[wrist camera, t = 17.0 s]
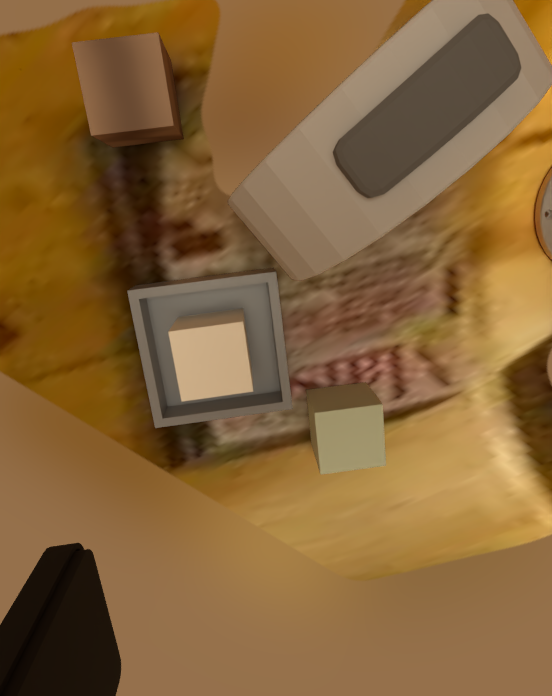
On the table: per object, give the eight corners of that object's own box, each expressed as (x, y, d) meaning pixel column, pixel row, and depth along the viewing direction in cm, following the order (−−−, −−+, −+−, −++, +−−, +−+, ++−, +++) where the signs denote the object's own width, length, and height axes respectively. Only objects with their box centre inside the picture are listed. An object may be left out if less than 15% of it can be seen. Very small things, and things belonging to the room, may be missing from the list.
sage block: (365, 381, 47) (382, 404, 42) (369, 436, 49) (386, 465, 43) (305, 389, 47) (314, 412, 41) (311, 444, 49) (320, 474, 43)
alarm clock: (283, 269, 44) (314, 307, 25) (229, 205, 42) (217, 192, 23) (470, 107, 41) (664, 10, 22) (420, 31, 40) (585, -144, 21)
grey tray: (273, 267, 44) (276, 271, 40) (289, 395, 47) (292, 409, 44) (136, 285, 43) (127, 290, 40) (161, 413, 47) (155, 427, 43)
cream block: (243, 308, 44) (243, 321, 38) (251, 369, 46) (253, 391, 40) (178, 317, 44) (168, 331, 38) (189, 378, 45) (181, 401, 40)
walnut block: (170, 60, 39) (158, 32, 33) (183, 138, 41) (173, 125, 35) (97, 68, 39) (71, 42, 33) (113, 147, 40) (91, 135, 35)
